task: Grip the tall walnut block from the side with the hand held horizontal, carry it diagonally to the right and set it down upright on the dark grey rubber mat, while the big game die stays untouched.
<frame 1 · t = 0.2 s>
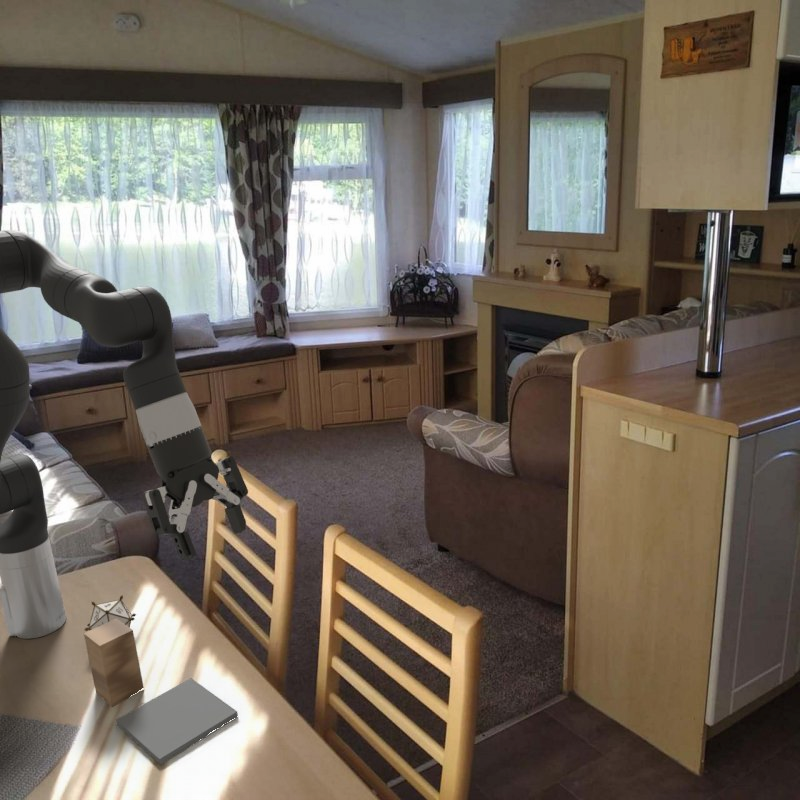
hand: (216, 544, 108), 31 cm above the table, tool tilted 20°, fingers open, 8 cm apart
walnut block: (120, 691, 129), on the table
rubber mat: (177, 721, 121), on the table
game die: (114, 642, 143), on the table
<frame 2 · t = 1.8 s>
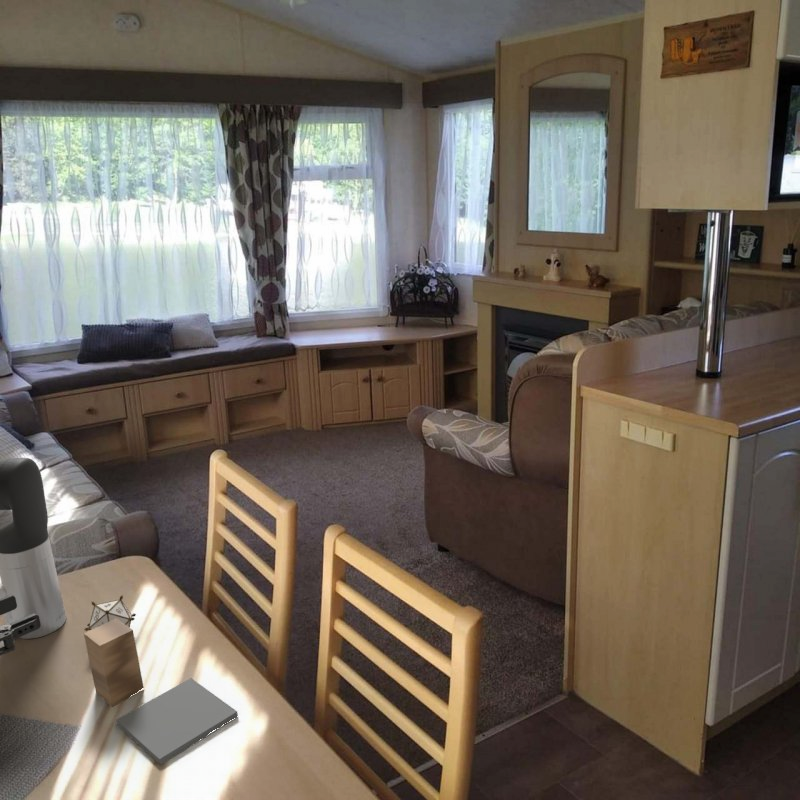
hand: (26, 610, 116), 20 cm above the table, tool horizontal, fingers open, 8 cm apart
nothing on the table moved.
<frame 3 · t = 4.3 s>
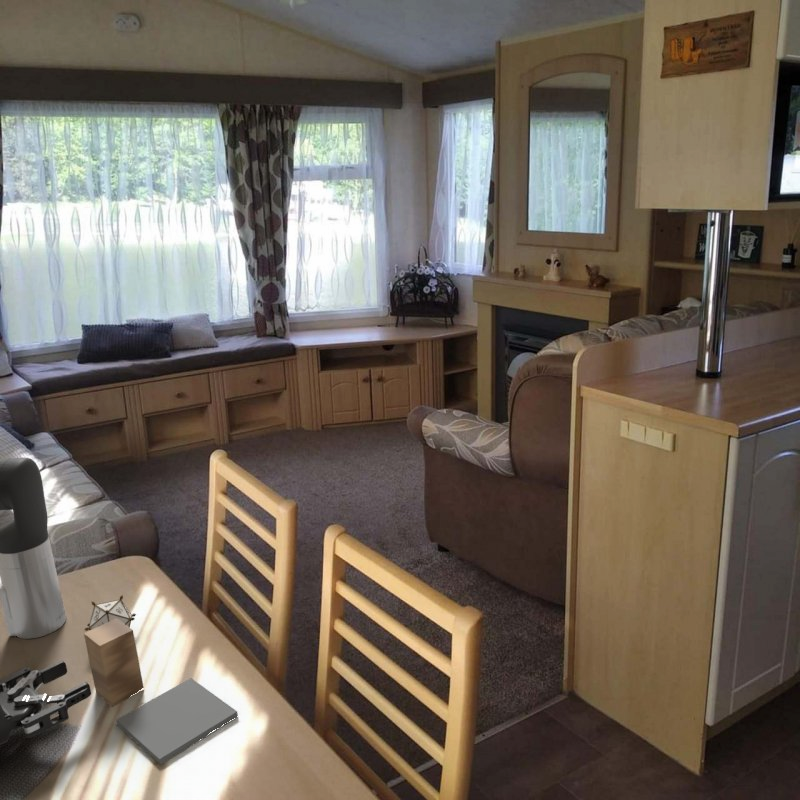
hand: (77, 676, 123), 6 cm above the table, tool horizontal, fingers open, 8 cm apart
nothing on the table moved.
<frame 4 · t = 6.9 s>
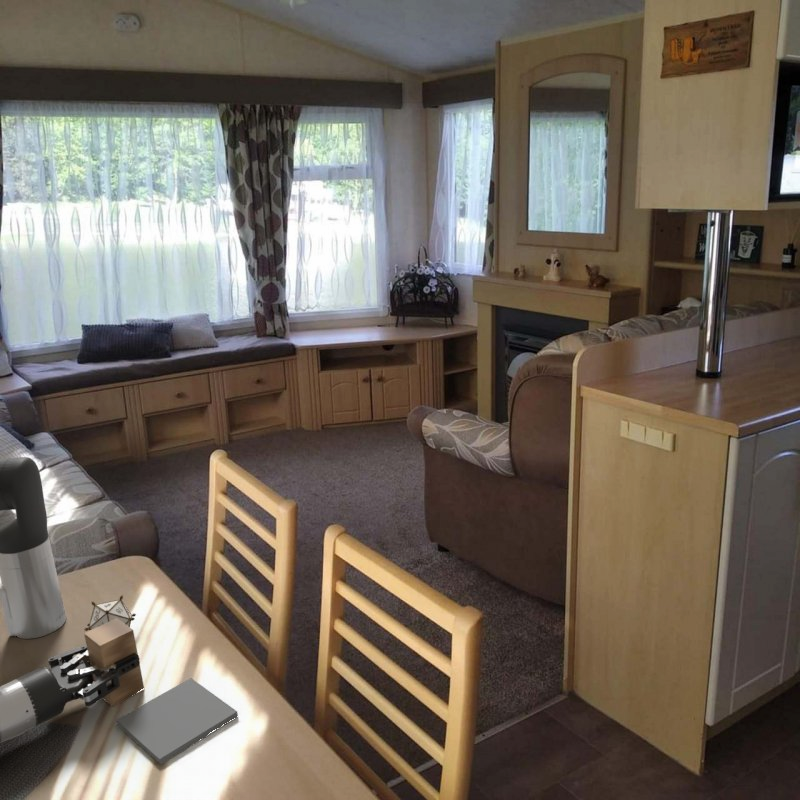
hand: (128, 651, 129), 6 cm above the table, tool horizontal, fingers closed on walnut block, 5 cm apart
walnut block: (120, 691, 129), on the table, touching gripper
everything else where it was.
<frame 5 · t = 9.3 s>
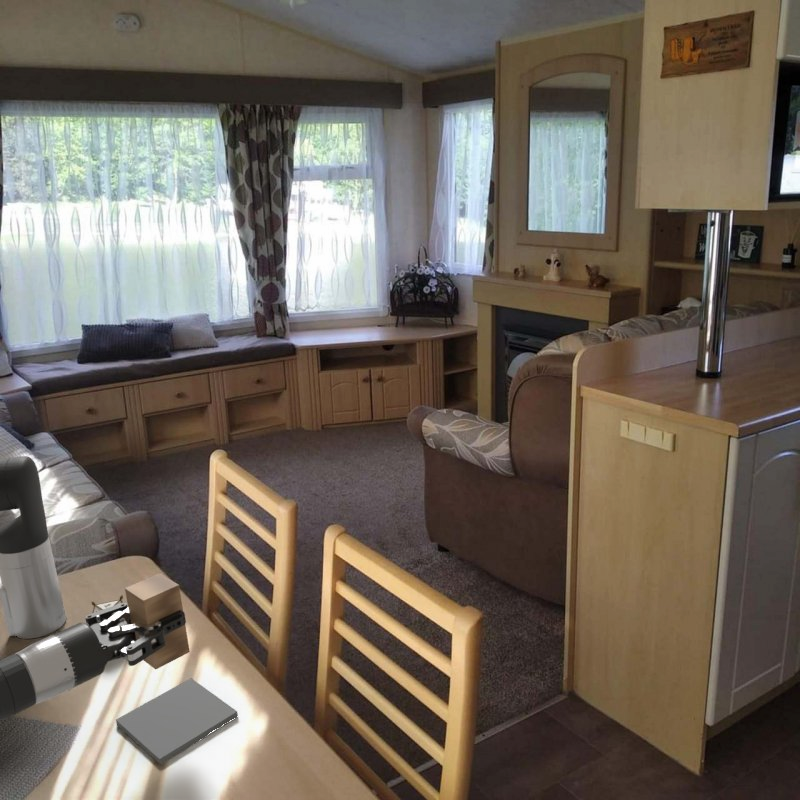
hand: (172, 609, 117), 18 cm above the table, tool horizontal, fingers closed on walnut block, 5 cm apart
walnut block: (163, 653, 117), point 12 cm above the table, touching gripper
everything else where it was.
when the fingers open (8 cm above the table, at t = 12.0 s): walnut block drops 1 cm, resting on rubber mat.
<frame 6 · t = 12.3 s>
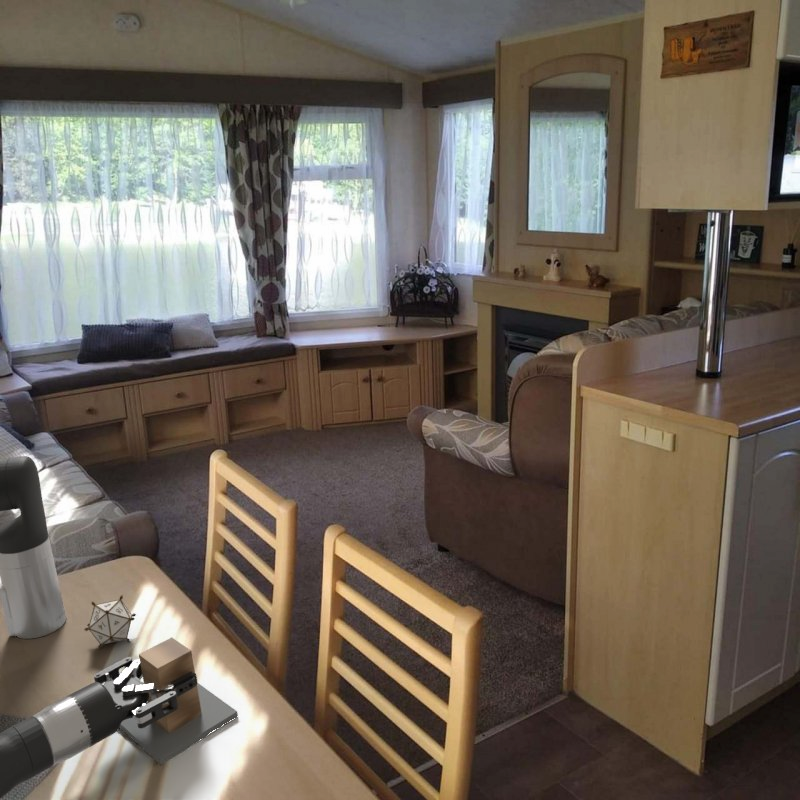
hand: (180, 666, 120), 8 cm above the table, tool horizontal, fingers open, 8 cm apart
walnut block: (176, 715, 120), point 1 cm above the table, touching rubber mat
everything else where it was.
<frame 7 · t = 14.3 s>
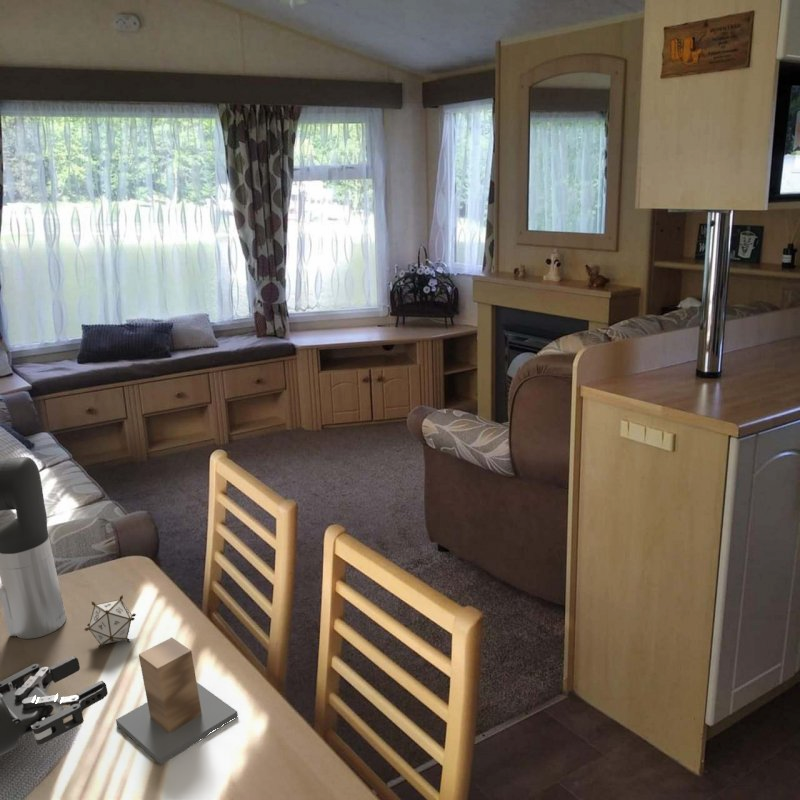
hand: (91, 674, 111), 13 cm above the table, tool horizontal, fingers open, 8 cm apart
nothing on the table moved.
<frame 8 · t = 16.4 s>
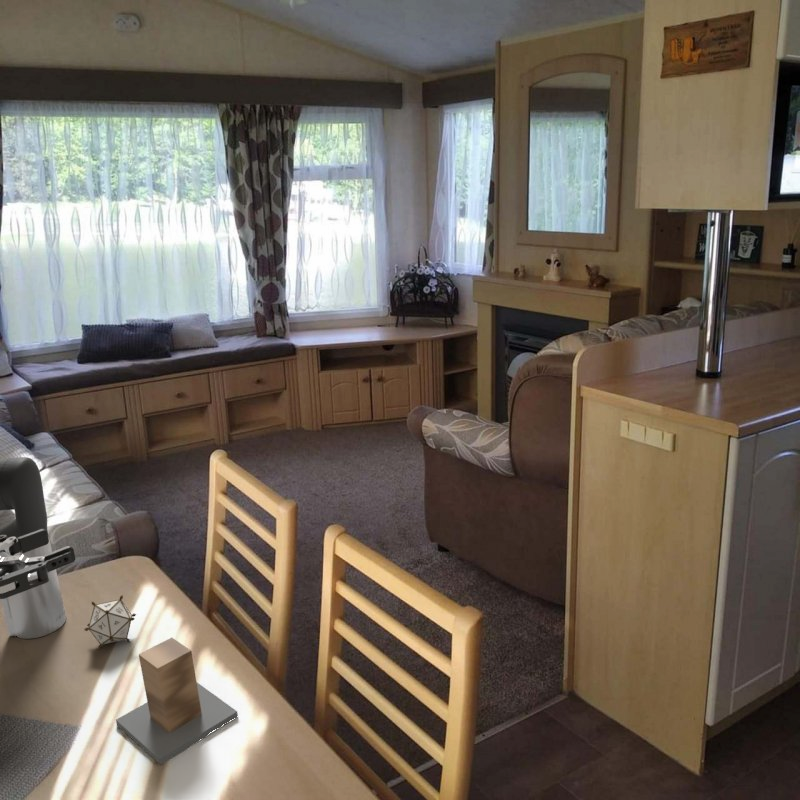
hand: (59, 544, 109), 32 cm above the table, tool horizontal, fingers open, 8 cm apart
nothing on the table moved.
at the end: walnut block inside the target area on the rubber mat (0.0 cm from its centre), point 1.0 cm above the rubber mat's base; walnut block tilted 0°; the gripper is holding nothing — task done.
